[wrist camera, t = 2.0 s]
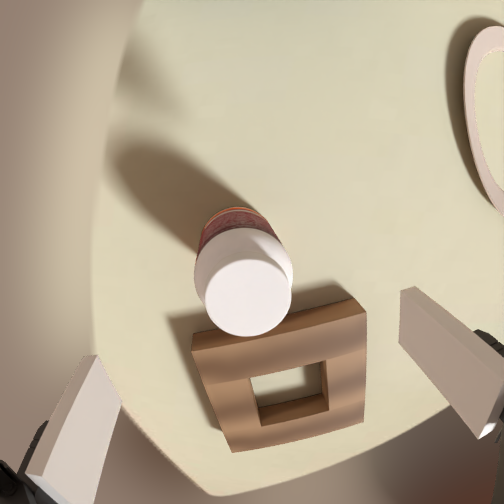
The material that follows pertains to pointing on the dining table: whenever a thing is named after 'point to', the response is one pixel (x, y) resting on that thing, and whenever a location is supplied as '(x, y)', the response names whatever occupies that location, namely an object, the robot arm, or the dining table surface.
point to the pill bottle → (243, 273)
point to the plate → (478, 50)
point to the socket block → (283, 358)
